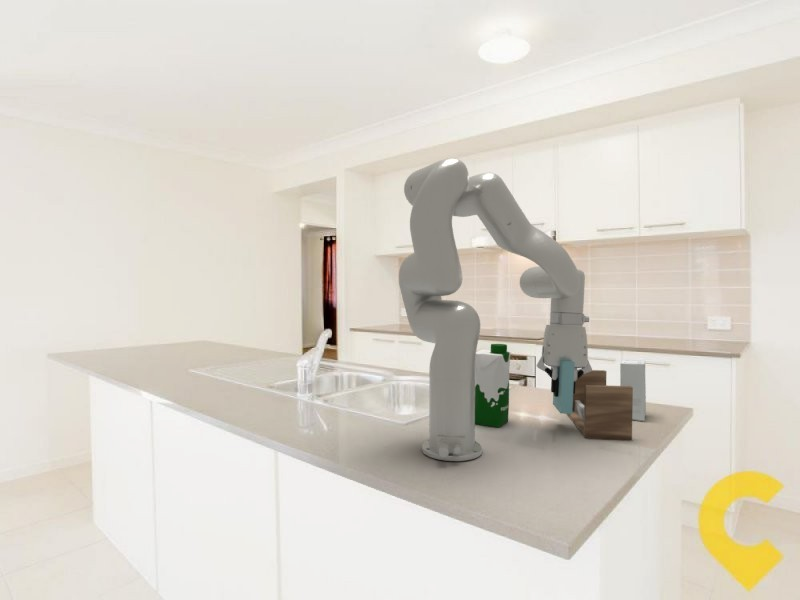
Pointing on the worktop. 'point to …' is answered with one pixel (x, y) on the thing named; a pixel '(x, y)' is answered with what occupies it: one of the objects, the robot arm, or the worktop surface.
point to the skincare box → (635, 385)
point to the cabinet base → (602, 408)
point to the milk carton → (492, 386)
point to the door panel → (565, 387)
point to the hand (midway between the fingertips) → (562, 395)
